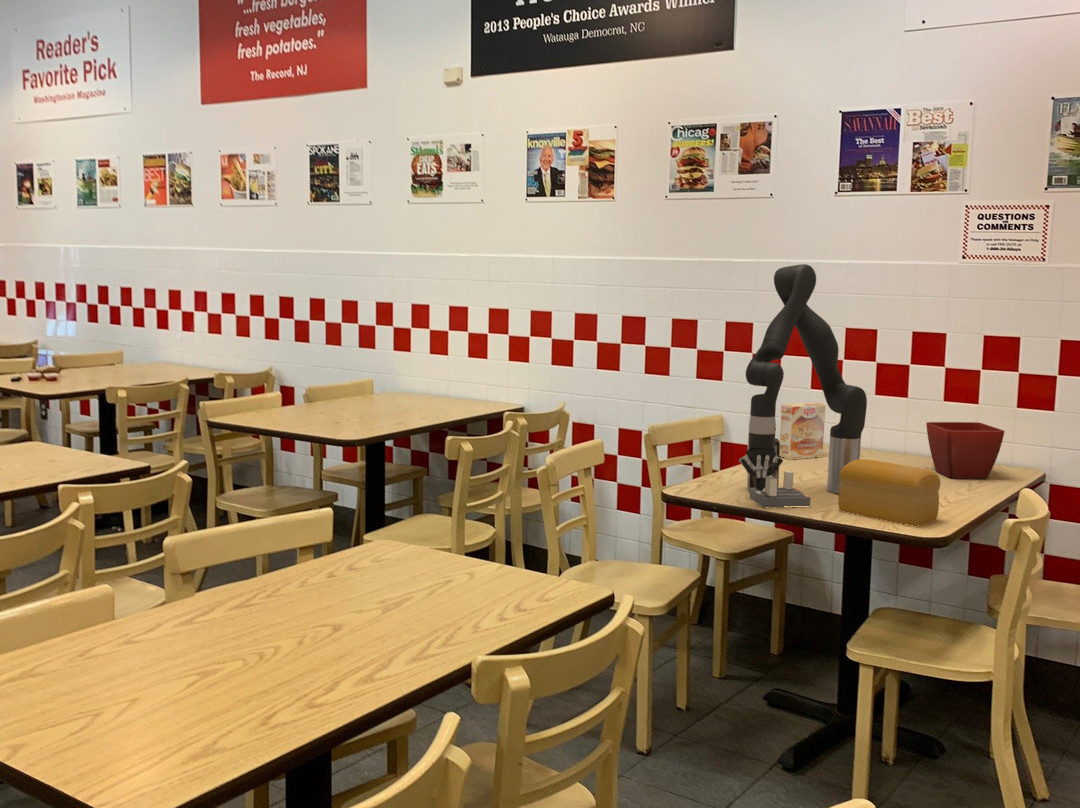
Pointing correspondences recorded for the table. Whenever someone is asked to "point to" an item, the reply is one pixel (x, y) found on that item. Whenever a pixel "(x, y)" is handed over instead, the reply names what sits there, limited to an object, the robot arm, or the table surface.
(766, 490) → the tab
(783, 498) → the switch panel
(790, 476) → the tab
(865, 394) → the robot arm
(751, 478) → the coffee box
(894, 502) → the bread
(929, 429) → the plant pot
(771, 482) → the tab
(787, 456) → the coffeecake box
